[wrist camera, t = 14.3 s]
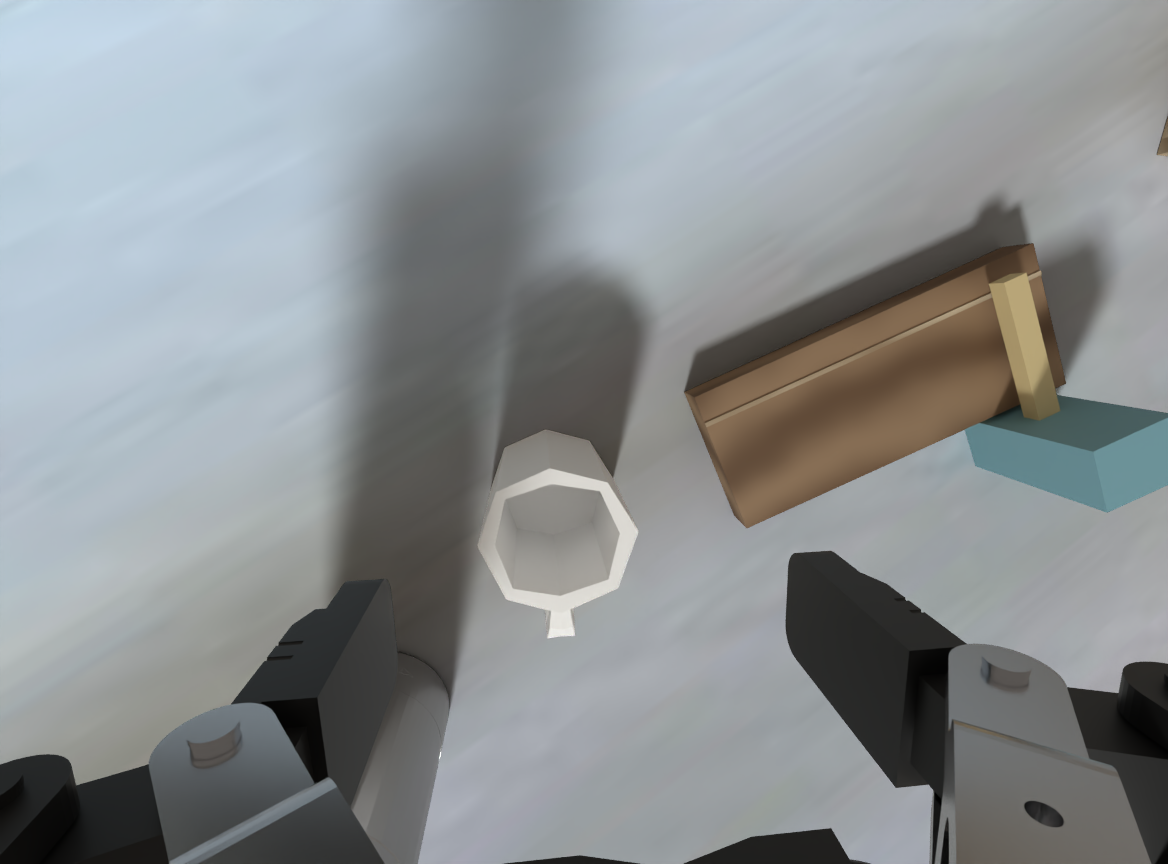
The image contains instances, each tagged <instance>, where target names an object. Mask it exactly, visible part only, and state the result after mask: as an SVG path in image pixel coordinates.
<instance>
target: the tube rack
mask: <svg viewBox="0 0 1168 864" xmlns="http://www.w3.org/2000/svg"><path fill="white" fill-rule="evenodd" d="M1157 155H1162V156H1168V118H1167V122H1166V125H1165V129H1164V132H1163V136H1162V139H1161V143H1160V146H1159V150H1158V153H1157Z"/></svg>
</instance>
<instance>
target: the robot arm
mask: <svg viewBox="0 0 1168 864" xmlns="http://www.w3.org/2000/svg"><path fill="white" fill-rule="evenodd" d="M786 635H787V640H788V643H789V646H790V649H791V651H792V653H793V655H794V657H795V658H796V660H797V661H798V662H799V663H800V665H801V666H802V667H803V669H804V670H805V671H806V672H807V674H808V675H809V676H810V678H811V679H812V680H813V681H814V683H815V684H816V685H817V687H818V688H819V689H820V691H821V692H822V693H823V694H824V696H825V697H826V698H827V700H828V701H829V702H830V703H831V705H832V706H833V707H834V709H835V710H836V711H837V712H838V714H839V715H840V716H841V718H842V719H843V720H844V721H845V723H846V724H847V725H848V727H849V728H850V729H851V730H852V732H853V733H854V734H855V736H856V737H857V738H858V739H859V741H860V742H861V743H862V745H863V746H864V747H865V749H866V750H867V751H868V752H869V754H870V755H871V756H872V758H873V759H874V760H875V761H876V763H877V764H878V765H879V767H880V768H881V769H882V770H883V772H884V773H885V774H886V776H887V777H888V778H889V779H890V781H891V782H892V783H893V785H894V786H895V787H896V788H899V787H909V786H919V785H928V784H929V785H930V787H931V788H932V789H933V798H932V807H931V828H930V859H929V864H1168V664H1165V663H1158V662H1135V663H1131V664H1128V665H1127V666H1125V667H1124V669H1123V672H1122V678H1121V683H1120V689H1119V693H1111V692H1103V691H1094V690H1086V689H1077V688H1069V687H1067V686H1066V684H1065V682H1064V680H1063V679H1062V678H1061V676H1060V675H1059V674H1057V673H1056V672H1055V671H1054V670H1053V669H1051V668H1050V667H1048V666H1047V665H1045V664H1044V663H1042V662H1040V661H1038V660H1036V659H1034V658H1032V657H1030V656H1028V655H1025V654H1023V653H1020V652H1017V651H1014V650H1011V649H1007V648H1003V647H999V646H994V645H987V644H966V643H965V642H963V641H962V640H961V639H959V638H958V637H957V636H955V635H954V634H953V633H951V632H950V631H949V630H947V629H946V628H945V627H943V626H942V625H941V624H939V623H938V622H937V621H935V620H934V619H933V618H931V617H930V616H929V615H927V614H926V613H925V612H924V613H921V609H919V608H918V607H917V606H915V605H914V604H913V603H911V602H910V601H906V600H905V597H903V596H902V595H901V594H899V593H898V592H897V591H895V590H894V589H893V588H891V587H890V586H889V585H887V584H886V583H883V582H881V581H879V580H876V579H874V578H872V577H870V576H867V575H865V574H863V573H860V572H859V571H857V570H856V569H855V568H854V567H852V566H851V565H850V564H848V563H847V562H846V561H845V560H843V559H842V558H841V557H839V556H838V555H837V554H836V553H834V552H832V551H821V552H805V553H794V554H793V555H792V556H791V558H790V560H789V566H788V584H787V604H786ZM448 716H449V698H448V693H447V690H446V688H445V686H444V683H443V681H442V680H441V679H440V677H439V676H438V675H437V673H436V672H435V671H434V670H433V669H431V668H430V667H429V666H428V665H427V664H425V663H424V662H422V661H420V660H418V659H416V658H415V657H412V656H409V655H406V654H403V653H397V643H396V634H395V624H394V614H393V605H392V595H391V588H390V584H389V582H388V580H387V579H378V580H363V581H347V582H345V583H344V584H343V586H342V587H341V588H340V590H339V591H338V593H337V594H336V596H335V597H334V598H333V600H332V601H331V603H330V604H329V606H328V607H327V608H326V609H315V610H314V611H312V612H311V613H309V614H308V615H306V616H305V617H303V618H302V619H300V620H299V621H298V622H296V623H295V624H293V625H292V626H291V627H290V629H289V630H288V631H287V633H286V634H285V635H284V636H283V638H282V639H281V640H280V642H279V645H278V646H276V647H275V648H274V649H273V651H272V652H271V653H270V654H269V656H268V657H267V661H264V662H263V664H262V665H261V666H260V667H259V669H258V670H257V671H256V673H255V674H254V675H253V676H252V678H251V679H250V680H249V682H248V683H247V684H246V685H245V687H244V688H243V689H242V691H241V692H240V693H239V695H238V696H237V697H236V698H235V700H234V701H233V702H232V704H231V705H227V706H223V707H220V708H216V709H213V710H210V711H208V712H205V713H203V714H201V715H198V716H196V717H194V718H192V719H190V720H189V721H187V722H185V723H183V724H182V725H180V726H179V727H177V728H176V729H174V730H173V731H172V732H171V733H169V734H168V735H167V736H166V737H165V738H164V739H163V740H162V741H161V742H160V743H159V744H158V745H157V746H156V748H155V749H154V751H153V752H152V754H151V756H150V760H149V764H148V765H145V766H142V767H139V768H135V769H132V770H128V771H125V772H121V773H118V774H115V775H111V776H108V777H104V778H101V779H97V780H94V781H90V782H87V783H83V784H80V785H76V783H75V779H74V775H73V771H72V766H71V763H70V762H69V760H68V759H66V758H64V757H62V756H59V755H49V754H47V755H36V756H30V757H25V758H21V759H17V760H13V761H10V762H7V763H4V764H1V765H0V864H418V859H419V855H420V850H421V845H422V840H423V835H424V831H425V826H426V821H427V816H428V811H429V807H430V802H431V797H432V792H433V787H434V782H435V778H436V773H437V768H438V763H439V759H440V755H441V750H442V745H443V740H444V735H445V730H446V726H447V721H448ZM506 864H638V863H631V862H624V861H616V860H609V859H602V858H595V857H587V856H570V857H561V858H552V859H543V860H533V861H524V862H515V863H506ZM684 864H870V863H866V862H862V861H856V860H850V859H849V858H848V856H847V855H846V853H845V851H844V849H843V848H842V846H841V844H840V843H839V841H838V839H837V838H836V836H835V834H834V832H833V831H832V829H831V828H829V829H820V830H811V831H802V832H792V833H783V834H774V835H765V836H755V837H750V838H747V839H745V840H742V841H740V842H737V843H735V844H732V845H730V846H727V847H725V848H722V849H720V850H717V851H715V852H712V853H710V854H707V855H705V856H702V857H699V858H697V859H694V860H692V861H689V862H687V863H684Z"/></svg>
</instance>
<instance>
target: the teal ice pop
mask: <svg viewBox="0 0 1168 864" xmlns="http://www.w3.org/2000/svg"><path fill="white" fill-rule="evenodd" d="M989 286H990V290H991V294H992V298H993V301H994V305H995V309H996V313H997V317H998V321H999V324H1000V328H1001V332H1002V336H1003V340H1004V343H1005V347H1006V351H1007V355H1008V359H1009V362H1010V366H1011V370H1012V374H1013V378H1014V381H1015V385H1016V389H1017V393H1018V397H1019V401H1020V405H1018V406H1015V407H1013V408H1011V409H1009V410H1007V411H1004V412H1002V413H1000V414H998V415H996V416H993V417H991V418H989V419H987V420H984V421H982V422H980V423H978V424H976V425H973V426H971V427H969V428H967V429H965V432H966V435H967V438H968V442H969V445H970V449H971V452H972V456H973V459H974V462H975V466H977V467H980V468H982V469H985V470H988V471H991V472H994V473H997V474H999V475H1002V476H1005V477H1008V478H1011V479H1014V480H1016V481H1019V482H1022V483H1025V484H1028V485H1031V486H1033V487H1036V488H1039V489H1042V490H1045V491H1048V492H1050V493H1053V494H1056V495H1059V496H1062V497H1065V498H1067V499H1070V500H1073V501H1076V502H1079V503H1082V504H1084V505H1087V506H1090V507H1093V508H1096V509H1099V510H1101V511H1104V512H1107V513H1108V512H1110V511H1112V510H1114V509H1116V508H1119V507H1121V506H1123V505H1125V504H1127V503H1129V502H1132V501H1134V500H1136V499H1138V498H1140V497H1143V496H1145V495H1147V494H1149V493H1151V492H1154V491H1156V490H1158V489H1160V488H1162V487H1164V486H1167V485H1168V413H1164V412H1157V411H1151V410H1145V409H1139V408H1133V407H1127V406H1121V405H1114V404H1108V403H1102V402H1096V401H1090V400H1084V399H1078V398H1072V397H1065V396H1059V395H1056V391H1055V386H1054V382H1053V378H1052V374H1051V370H1050V366H1049V362H1048V358H1047V354H1046V350H1045V346H1044V342H1043V338H1042V333H1041V329H1040V325H1039V321H1038V317H1037V313H1036V309H1035V305H1034V301H1033V297H1032V293H1031V289H1030V285H1029V281H1028V276H1027V273H1015V274H1009V275H1007V276H1005V277H1003V278H1000V279H998V280H996V281H994V282H992V283H990V284H989Z"/></svg>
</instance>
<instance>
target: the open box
mask: <svg viewBox="0 0 1168 864" xmlns="http://www.w3.org/2000/svg"><path fill="white" fill-rule="evenodd" d="M1015 273H1027V276H1028V281H1029V285H1030V289H1031V293H1032V297H1033V301H1034V305H1035V309H1036V313H1037V317H1038V321H1039V325H1040V329H1041V333H1042V338H1043V342H1044V346H1045V350H1046V354H1047V358H1048V362H1049V366H1050V370H1051V374H1052V378H1053V382H1054V386H1055V388H1057V387H1059V386H1062V385H1064V384H1066V381H1065V377H1064V372H1063V368H1062V364H1061V359H1060V355H1059V351H1058V347H1057V342H1056V338H1055V334H1054V330H1053V325H1052V321H1051V317H1050V312H1049V308H1048V304H1047V300H1046V295H1045V291H1044V287H1043V282H1042V278H1041V275H1042V272H1041V270H1039V265H1038V261H1037V257H1036V253H1035V248H1034V244H1033V243H1031V244H1024V245H1016V246H1008V247H1002V248H1000V249H997V250H995V251H993V252H991V253H989V254H986V255H984V256H982V257H980V258H978V259H975V260H973V261H971V262H969V263H967V264H964V265H962V266H960V267H958V268H956V269H953V270H951V271H949V272H947V273H945V274H942V275H940V276H938V277H936V278H934V279H931V280H929V281H927V282H925V283H923V284H921V285H918V286H916V287H914V288H912V289H910V290H907V291H905V292H903V293H901V294H899V295H896V296H894V297H892V298H890V299H888V300H885V301H883V302H881V303H879V304H877V305H874V306H872V307H870V308H868V309H866V310H863V311H861V312H859V313H857V314H855V315H852V316H850V317H848V318H846V319H844V320H841V321H839V322H837V323H835V324H833V325H830V326H828V327H826V328H824V329H822V330H820V331H817V332H815V333H813V334H811V335H809V336H806V337H804V338H802V339H800V340H798V341H795V342H793V343H791V344H789V345H787V346H784V347H782V348H780V349H778V350H776V351H773V352H771V353H769V354H767V355H765V356H762V357H760V358H758V359H756V360H754V361H751V362H749V363H747V364H745V365H743V366H740V367H738V368H736V369H734V370H732V371H729V372H727V373H725V374H723V375H721V376H719V377H716V378H714V379H712V380H710V381H708V382H705V383H703V384H701V385H699V386H697V387H694V388H692V389H690V390H688V391H686V392H684V393H685V395H686V398H687V400H688V402H689V405H690V407H691V410H692V412H693V415H694V417H695V420H696V422H697V425H698V427H699V430H700V432H701V435H702V437H703V440H704V442H705V445H706V447H707V449H708V452H709V454H710V457H711V459H712V462H713V464H714V467H715V469H716V472H717V474H718V477H719V479H720V482H721V484H722V487H723V489H724V491H725V494H726V496H727V499H728V501H729V504H730V506H731V509H732V511H733V514H734V516H735V517H736V518H737V519H738V520H739V521H740V522H741V523H742V524H743V525H744V526H745V527H746V528H749V527H751V526H753V525H755V524H757V523H760V522H762V521H764V520H766V519H768V518H771V517H773V516H775V515H777V514H779V513H782V512H784V511H786V510H788V509H790V508H793V507H795V506H797V505H799V504H802V503H804V502H806V501H808V500H810V499H813V498H815V497H817V496H819V495H821V494H824V493H826V492H828V491H830V490H832V489H835V488H837V487H839V486H841V485H843V484H846V483H848V482H850V481H852V480H854V479H857V478H859V477H861V476H863V475H865V474H868V473H870V472H872V471H874V470H876V469H879V468H881V467H883V466H885V465H887V464H890V463H892V462H894V461H896V460H899V459H901V458H903V457H905V456H907V455H910V454H912V453H914V452H916V451H918V450H921V449H923V448H925V447H927V446H929V445H932V444H934V443H936V442H938V441H940V440H943V439H945V438H947V437H949V436H951V435H954V434H956V433H958V432H960V431H962V430H965V429H967V428H969V427H971V426H973V425H976V424H978V423H980V422H982V421H984V420H987V419H989V418H991V417H993V416H996V415H998V414H1000V413H1002V412H1004V411H1007V410H1009V409H1011V408H1013V407H1015V406H1018V405H1020V401H1019V397H1018V393H1017V389H1016V385H1015V381H1014V378H1013V374H1012V370H1011V366H1010V362H1009V359H1008V355H1007V351H1006V347H1005V343H1004V340H1003V336H1002V332H1001V328H1000V324H999V321H998V317H997V313H996V309H995V305H994V301H993V298H992V294H991V290H990V286H989V284H990V283H992V282H994V281H996V280H998V279H1000V278H1003V277H1005V276H1007V275H1009V274H1015Z"/></svg>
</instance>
